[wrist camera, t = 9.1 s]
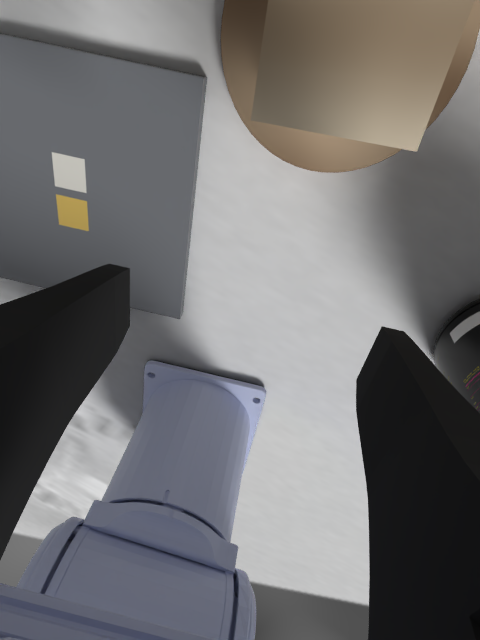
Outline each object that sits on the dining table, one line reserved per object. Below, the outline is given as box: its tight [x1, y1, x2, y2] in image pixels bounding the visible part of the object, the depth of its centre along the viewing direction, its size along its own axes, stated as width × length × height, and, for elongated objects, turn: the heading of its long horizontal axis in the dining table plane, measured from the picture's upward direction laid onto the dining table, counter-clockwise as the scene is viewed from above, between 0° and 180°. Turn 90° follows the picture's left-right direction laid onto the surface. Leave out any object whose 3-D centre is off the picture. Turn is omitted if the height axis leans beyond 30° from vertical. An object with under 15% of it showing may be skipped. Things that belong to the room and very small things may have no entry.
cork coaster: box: [221, 0, 480, 172], centre depth 15 cm, size 9×9×1 cm
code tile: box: [0, 33, 207, 319], centre depth 20 cm, size 12×12×1 cm
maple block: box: [251, 0, 475, 152], centre depth 12 cm, size 4×4×6 cm
